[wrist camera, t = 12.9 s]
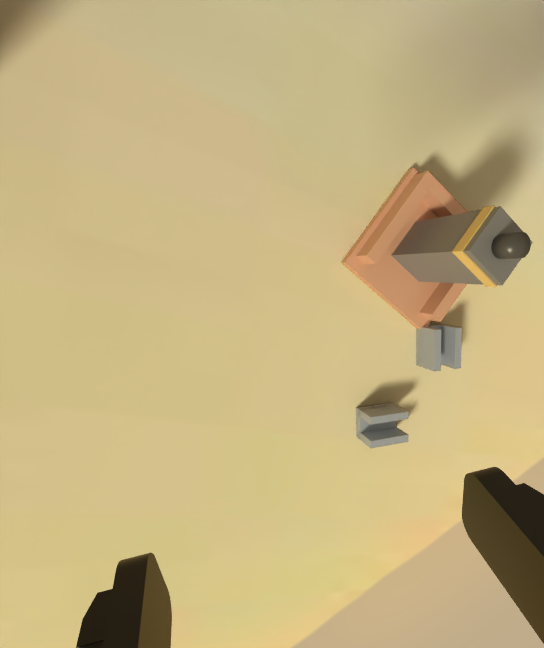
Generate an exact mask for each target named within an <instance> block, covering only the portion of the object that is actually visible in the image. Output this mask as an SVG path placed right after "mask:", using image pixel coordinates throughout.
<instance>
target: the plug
mask: <svg viewBox="0 0 544 648" xmlns="http://www.w3.org/2000/svg"><path fill="white" fill-rule="evenodd" d="M531 244H532V241H531V240H530V238H529V236H528V235H527V234H526V233H524V232H523V231H522V230H521V229H520V228H519V227H518V225H517V224H516V223H515V222H514V221H513V220H512V219H511V218H510V216H509V215H508V214H507V213H506V212H505V211H504V210H503V208H502V207H501V206H500V207H495V206H489V207H484V208H483V209H482V210H478V211H472V212H467V213H461V214H456V215H450V216H445V217H439V218H434V219H428V220H423V221H417V222H415V223H414V225H413V226H412V227H411V229H410V230H409V231H408V233H407V234H406V235H405V237H404V238H403V240H402V241H401V242H400V244H399V245H398V246H397V248H396V249H395V251H394V252H393V253H392V255H391V256H392V257H393V258H394V259H396V260H397V261H398V262H399V263H400V264H401V265H402V266H403V267H404V268H405V269H406V270H407V271H408V272H409V273H410V274H411V275H412V276H414V277H415V278H416V279H417V280H418V281H419V282H440V283H462V284H484V285H485V286H488V287H496V286H497V285H503V284H504V282H505V281H506V280H507V278H508V277H509V275H510V274H511V272H512V271H513V270H514V268H515V267H516V265H517V264H518V262H519V261H520V260H521V258H523V257H525V256H526V255H527V254H528V252H529V250H530V247H531Z"/></svg>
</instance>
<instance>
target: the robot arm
mask: <svg viewBox="0 0 544 648" xmlns="http://www.w3.org/2000/svg"><path fill="white" fill-rule="evenodd" d="M462 519H463V523H464V527H465V529H466V531H467V533H468V536H469V537H470V539H471V541H472V542H473V544H474V545H475V546H476V548H477V549H478V551H479V552H480V554H481V555H482V556H483V558H484V559H485V561H486V562H487V564H488V565H489V566H490V568H491V569H492V570H493V572H494V574H495V575H496V576H497V578H498V579H499V581H500V582H501V583H502V585H503V586H504V587H505V589H506V591H507V592H508V594H509V595H510V596H511V598H512V599H513V601H514V602H515V603H516V605H517V606H518V608H519V609H520V611H521V612H522V613H523V615H524V616H525V618H526V619H527V620H528V622H529V623H530V625H531V626H532V628H533V629H534V631H535V632H536V633H537V635H538V636H539V638H540V639H541V640H542V642H543V643H544V495H543V494H542V493H540V492H538V491H537V490H535V489H533V488H531V487H530V486H528V485H526V484H524V483H523V484H519V485H515V484H514V483H513V482H512V481H511V479H510V478H509V477H508V476H507V475H506V474H505V473H504V472H503V471H502V470H500V469H499V468H497V467H491V468H488V469H484V470H480V471H476V472H472V473H468V474H466V475H465V479H464V492H463V505H462ZM171 624H172V612H171V602H170V596H169V592H168V589H167V586H166V584H165V581H164V579H163V576H162V574H161V571H160V569H159V566H158V564H157V561H156V558H155V556H154V554H153V553H148V554H144V555H140V556H136V557H132V558H128V559H124V560H121V561H120V562H119V563H118V565H117V569H116V574H115V579H114V585H113V589H111V590H107V591H103V592H99V593H97V595H96V597H95V598H94V600H93V602H92V604H91V605H90V607H89V609H88V611H87V613H86V614H85V616H84V618H83V620H82V625H81V629H80V633H79V638H78V642H77V646H76V648H170V646H171Z"/></svg>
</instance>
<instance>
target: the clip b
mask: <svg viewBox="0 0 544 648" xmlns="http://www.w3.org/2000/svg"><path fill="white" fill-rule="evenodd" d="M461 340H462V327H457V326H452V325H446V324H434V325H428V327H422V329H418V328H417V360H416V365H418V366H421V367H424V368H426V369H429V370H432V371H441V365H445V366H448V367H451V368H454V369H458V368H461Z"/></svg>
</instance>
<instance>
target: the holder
mask: <svg viewBox="0 0 544 648" xmlns="http://www.w3.org/2000/svg"><path fill="white" fill-rule="evenodd" d="M461 213H467V211H466V210H465V209H464V208H463V207H462V206H461V205H460V204H459V203H458V202H457V201H456V200H455V199H454V198H453V197H452V195H451V194H450V193H449V192H448V191H447V190H446V189H445V188H444V187H443V186H442V185H441V184H440V183H439V182H438V181H437V180H436V179H435V178H434V176H433V175H432V174H431V173H430V172H429V171H425V172H422V173H418V171H417V170H416V169H415V168H414V167H413V168H411V169H408V171H407V172H406V174H405V175H404V176H403V178H402V179H401V181H400V182H399V183H398V185H397V186H396V187H395V189H394V190H393V192H392V193H391V194H390V196H389V197H388V199H387V200H386V201H385V203H384V204H383V205H382V207H381V208H380V210H379V211H378V212H377V214H376V215H375V217H374V218H373V219H372V221H371V222H370V223H369V225H368V226H367V228H366V229H365V230H364V232H363V233H362V235H361V236H360V237H359V239H358V240H357V241H356V243H355V244H354V246H353V247H352V248H351V250H350V251H349V253H348V254H347V255H346V257H345V258H344V259H343V261H342V262H341V263H343V264H344V265H345V266H346V267H347V268H348V269H349V270H351V271H352V272H353V273H354V274H355V275H356V276H357V277H359V278H360V279H361V280H362V281H363V282H364V283H365V284H367V285H368V286H369V287H370V288H371V289H372V290H374V291H375V292H376V293H377V294H378V295H379V296H380V297H382V298H383V299H384V300H385V301H386V302H387V303H388V304H390V305H391V306H392V307H393V308H394V309H395V310H396V311H398V312H399V313H400V314H401V315H402V316H403V317H404V318H406V319H407V320H408V321H409V322H410V323H411V324H413V325H414V326H415V327H416V328H418V329H422V327H428V325H429V324H430V322H431V321H432V320H433V321H438V322H441V321H442V319H443V318H444V316H445V315H446V314H447V312H448V311H449V309H450V308H451V306H452V305H453V303H454V302H455V301H456V299H457V298H458V296H459V295H460V293H461V292H462V291H463V289H464V288H465V286H466V285H467V284H462V283H440V282H419V281H418V280H417V279H416V278H415V277H414V276H412V275H411V274H410V273H409V272H408V271H407V270H406V269H405V268H404V267H403V266H402V265H401V264H400V263H399V262H398V261H397V260H396V259H394V258H393V257H392V256H391V255H392V253H393V252H394V251H395V249H396V248H397V246H398V245H399V244H400V242H401V241H402V240H403V238H404V237H405V235H406V234H407V233H408V231H409V230H410V229H411V227H412V226H413V225H414V223H415V222H417V221H423V220H428V219H434V218H439V217H445V216H450V215H456V214H461Z"/></svg>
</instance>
